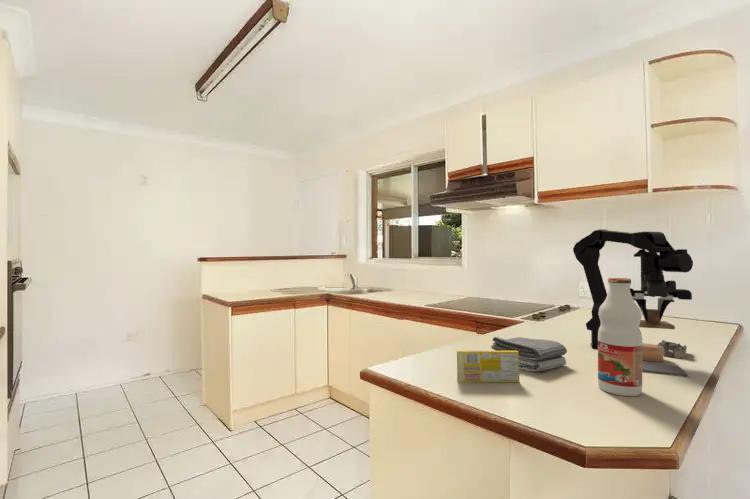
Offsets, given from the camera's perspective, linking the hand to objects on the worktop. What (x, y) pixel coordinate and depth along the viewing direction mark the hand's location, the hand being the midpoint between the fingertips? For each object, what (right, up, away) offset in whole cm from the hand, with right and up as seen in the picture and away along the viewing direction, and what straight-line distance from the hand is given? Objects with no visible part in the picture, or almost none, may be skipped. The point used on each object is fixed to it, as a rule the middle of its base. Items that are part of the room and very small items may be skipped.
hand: (652, 320), depth 121 cm
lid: (0, -2, 0) cm, 2 cm away
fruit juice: (-26, -13, -25) cm, 38 cm away
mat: (-3, -13, -7) cm, 15 cm away
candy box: (-57, -13, -18) cm, 61 cm away
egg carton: (+13, -13, +10) cm, 21 cm away
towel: (-40, -13, -1) cm, 42 cm away
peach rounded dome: (+1, -13, +4) cm, 13 cm away
